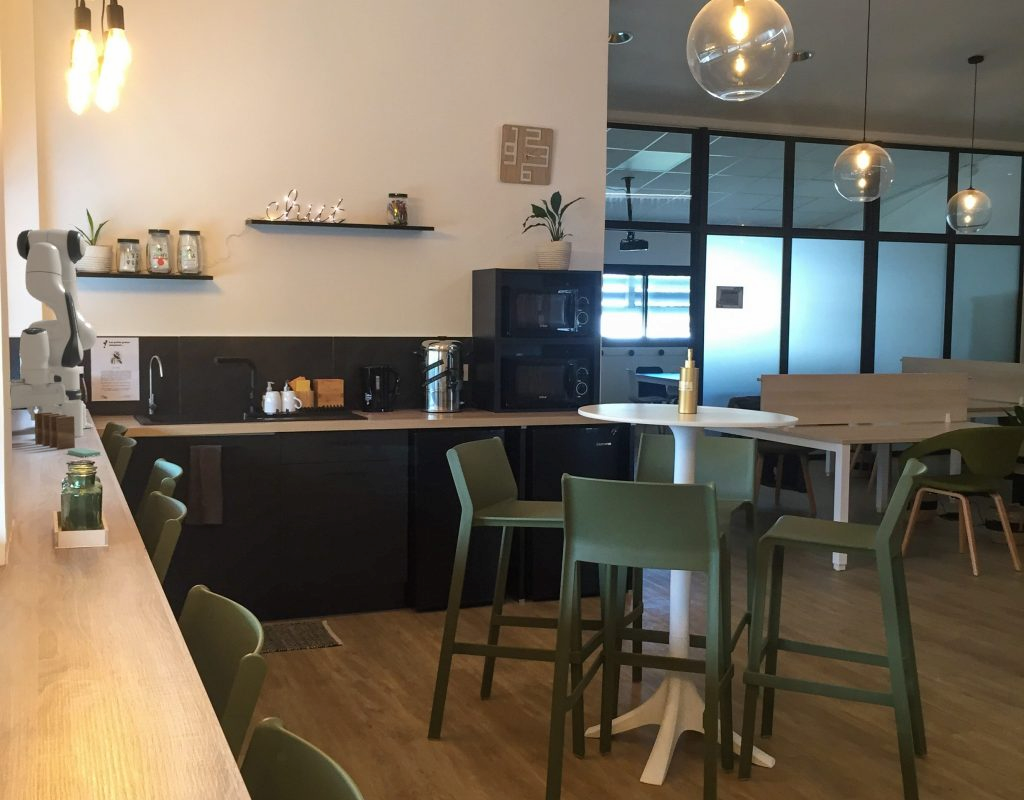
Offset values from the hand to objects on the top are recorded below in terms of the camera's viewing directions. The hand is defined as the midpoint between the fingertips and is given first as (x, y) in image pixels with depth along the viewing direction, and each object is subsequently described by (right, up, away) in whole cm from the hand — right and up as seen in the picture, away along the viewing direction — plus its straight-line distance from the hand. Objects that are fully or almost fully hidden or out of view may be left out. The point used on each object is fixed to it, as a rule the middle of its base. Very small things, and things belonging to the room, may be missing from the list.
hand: (36, 420), depth 333 cm
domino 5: (+21, -9, -19) cm, 30 cm away
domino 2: (+7, -8, -5) cm, 12 cm away
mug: (+4, -6, +15) cm, 17 cm away
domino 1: (+4, -8, -2) cm, 9 cm away
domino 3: (+11, -8, -8) cm, 16 cm away
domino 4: (+14, -9, -10) cm, 20 cm away
